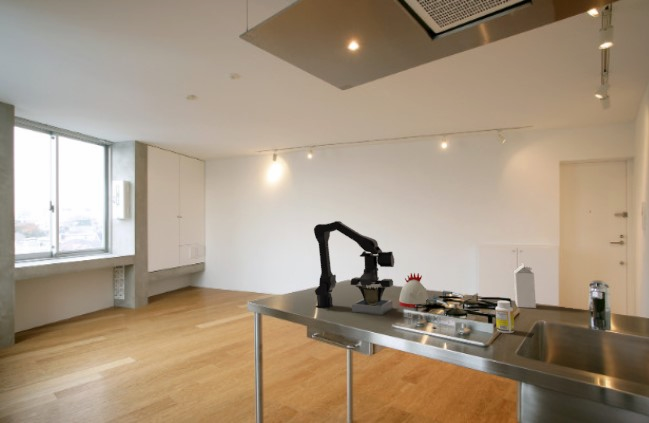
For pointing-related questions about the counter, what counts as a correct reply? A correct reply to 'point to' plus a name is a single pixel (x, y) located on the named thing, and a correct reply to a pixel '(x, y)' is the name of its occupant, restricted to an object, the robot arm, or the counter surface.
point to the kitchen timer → (413, 292)
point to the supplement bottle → (504, 317)
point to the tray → (372, 307)
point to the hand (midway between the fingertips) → (372, 301)
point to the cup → (371, 295)
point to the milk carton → (524, 287)
